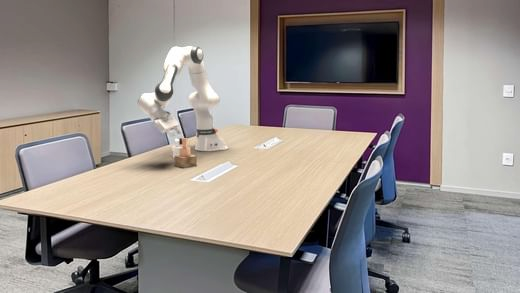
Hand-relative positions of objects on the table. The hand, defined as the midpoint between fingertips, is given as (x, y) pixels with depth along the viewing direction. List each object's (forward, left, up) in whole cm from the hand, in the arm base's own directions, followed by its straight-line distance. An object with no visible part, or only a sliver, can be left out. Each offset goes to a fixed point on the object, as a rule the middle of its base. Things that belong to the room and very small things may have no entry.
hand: (176, 134), depth 260 cm
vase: (-4, +3, -12) cm, 13 cm away
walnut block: (-4, +3, -18) cm, 19 cm away
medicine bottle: (-5, -21, -18) cm, 29 cm away
